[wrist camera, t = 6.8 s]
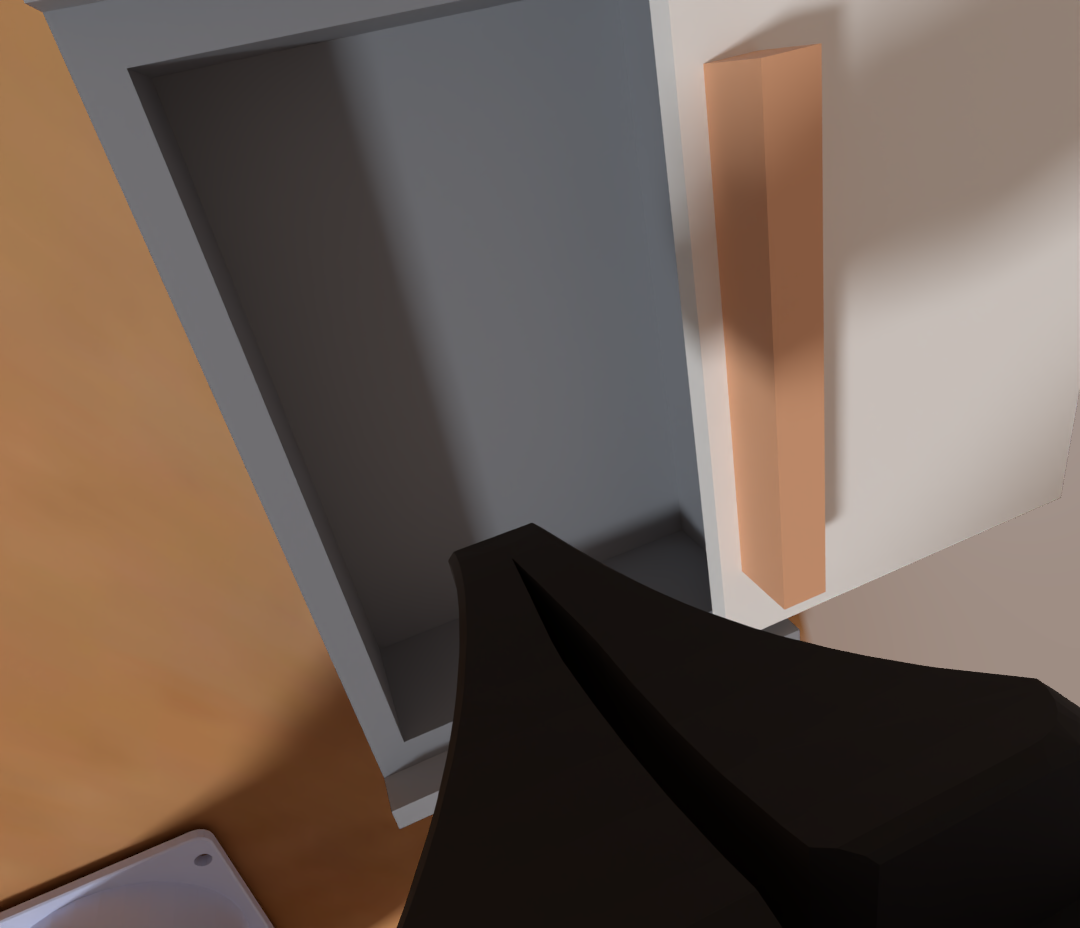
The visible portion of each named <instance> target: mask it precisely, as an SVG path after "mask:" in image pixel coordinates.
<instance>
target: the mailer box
mask: <svg viewBox="0 0 1080 928" xmlns="http://www.w3.org/2000/svg"><path fill="white" fill-rule="evenodd" d="M24 2H25V4H27V5H29V6H31V7H33V8H35V9H37V10H39V11H41V12H43V14H44V16H45V18H46V21H47V23H48V25H49V27H50V30H51V32H52V34H53V36H54V39H55V41H56V43H57V45H58V48H59V50H60V52H61V54H62V57H63V59H64V61H65V63H66V66H67V68H68V70H69V72H70V74H71V77H72V79H73V81H74V83H75V86H76V88H77V90H78V92H79V95H80V97H81V99H82V101H83V104H84V106H85V108H86V110H87V113H88V115H89V117H90V119H91V122H92V124H93V126H94V128H95V131H96V133H97V135H98V137H99V140H100V142H101V144H102V146H103V148H104V151H105V153H106V155H107V157H108V160H109V162H110V164H111V166H112V169H113V171H114V173H115V175H116V178H117V180H118V182H119V184H120V187H121V189H122V191H123V193H124V196H125V198H126V200H127V202H128V205H129V207H130V209H131V211H132V214H133V216H134V218H135V220H136V222H137V225H138V227H139V229H140V231H141V234H142V236H143V238H144V240H145V243H146V245H147V247H148V249H149V252H150V254H151V256H152V258H153V261H154V263H155V265H156V267H157V270H158V272H159V274H160V276H161V279H162V281H163V283H164V285H165V288H166V290H167V292H168V294H169V297H170V299H171V301H172V303H173V305H174V308H175V310H176V312H177V314H178V317H179V319H180V321H181V323H182V326H183V328H184V330H185V332H186V335H187V337H188V339H189V341H190V344H191V346H192V348H193V350H194V353H195V355H196V357H197V359H198V362H199V364H200V366H201V368H202V371H203V373H204V375H205V377H206V379H207V382H208V384H209V386H210V388H211V391H212V393H213V395H214V397H215V400H216V402H217V404H218V406H219V409H220V411H221V413H222V415H223V418H224V420H225V422H226V424H227V427H228V429H229V431H230V433H231V436H232V438H233V440H234V442H235V445H236V447H237V449H238V451H239V454H240V456H241V458H242V460H243V462H244V465H245V467H246V469H247V471H248V474H249V476H250V478H251V480H252V483H253V485H254V487H255V489H256V492H257V494H258V496H259V498H260V501H261V503H262V505H263V507H264V510H265V512H266V514H267V516H268V519H269V521H270V523H271V525H272V528H273V530H274V532H275V534H276V536H277V539H278V541H279V543H280V545H281V548H282V550H283V552H284V554H285V557H286V559H287V561H288V563H289V566H290V568H291V570H292V572H293V575H294V577H295V579H296V581H297V584H298V586H299V588H300V590H301V593H302V595H303V597H304V599H305V602H306V604H307V606H308V608H309V610H310V613H311V615H312V617H313V619H314V622H315V624H316V626H317V628H318V631H319V633H320V635H321V637H322V640H323V642H324V644H325V646H326V649H327V651H328V653H329V655H330V658H331V660H332V662H333V664H334V667H335V669H336V671H337V673H338V676H339V678H340V680H341V682H342V685H343V687H344V689H345V691H346V693H347V696H348V698H349V700H350V702H351V705H352V707H353V709H354V711H355V714H356V716H357V718H358V720H359V723H360V725H361V727H362V729H363V732H364V734H365V736H366V738H367V741H368V743H369V745H370V747H371V750H372V752H373V754H374V756H375V759H376V761H377V763H378V765H379V767H380V770H381V772H382V774H383V776H384V779H385V784H386V788H387V793H388V797H389V802H390V806H391V811H392V814H393V816H394V818H395V820H396V822H397V825H398V827H399V829H401V828H403V827H406V826H408V825H410V824H412V823H414V822H417V821H419V820H421V819H423V818H425V817H428V816H430V815H432V814H434V810H435V806H436V802H437V798H438V793H439V789H440V785H441V780H442V776H443V771H444V767H445V763H446V758H447V753H448V747H449V741H450V735H451V730H452V723H453V716H454V708H455V701H456V691H457V677H458V663H459V606H458V596H457V588H456V585H455V582H454V579H453V575H452V572H451V569H450V566H449V563H448V560H449V558H450V557H451V555H452V553H453V552H454V551H457V550H459V549H462V548H465V547H467V546H470V545H473V544H476V543H478V542H481V541H484V540H486V539H489V538H492V537H494V536H497V535H500V534H503V533H505V532H508V531H511V530H513V529H516V528H519V527H521V526H524V525H527V524H530V523H534V524H536V525H538V526H540V527H542V528H543V529H545V530H547V531H548V532H550V533H552V534H553V535H555V536H556V537H558V538H560V539H561V540H563V541H565V542H566V543H568V544H570V545H571V546H573V547H575V548H577V549H578V550H580V551H582V552H583V553H585V554H587V555H589V556H590V557H592V558H594V559H596V560H598V561H599V562H601V563H603V564H605V565H607V566H609V567H610V568H612V569H614V570H616V571H618V572H620V573H622V574H624V575H626V576H628V577H630V578H632V579H634V580H635V581H637V582H639V583H641V584H644V585H646V586H648V587H650V588H652V589H654V590H656V591H658V592H660V593H663V594H665V595H667V596H670V597H672V598H674V599H676V600H679V601H681V602H683V603H686V604H688V605H690V606H693V607H696V608H698V609H701V610H703V611H706V612H709V613H712V614H713V611H712V601H711V591H710V582H709V572H708V562H707V553H706V543H705V534H704V524H703V514H702V505H701V495H700V485H699V476H698V466H697V456H696V447H695V437H694V427H693V418H692V408H691V399H690V389H689V379H688V370H687V360H686V350H685V341H684V331H683V321H682V312H681V302H680V292H679V283H678V273H677V263H676V254H675V244H674V235H673V225H672V215H671V206H670V196H669V186H668V177H667V167H666V157H665V148H664V138H663V128H662V119H661V109H660V100H659V90H658V80H657V71H656V61H655V51H654V42H653V32H652V22H651V13H650V3H649V0H24ZM762 630H763V631H766V632H769V633H773V634H776V635H780V636H784V637H788V638H791V639H795V640H799V641H800V631H799V629H798V628H797V627H796V626H795V625H794V624H793V623H792V622H791V621H789V620H788V619H784V620H782V621H780V622H778V623H775V624H773V625H771V626H768V627H766V628H764V629H762Z"/></svg>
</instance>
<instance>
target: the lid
mask: <svg viewBox="0 0 1080 928" xmlns="http://www.w3.org/2000/svg"><path fill="white" fill-rule="evenodd" d="M649 3H650V13H651V22H652V32H653V42H654V51H655V61H656V71H657V80H658V90H659V100H660V109H661V119H662V128H663V138H664V148H665V157H666V167H667V177H668V186H669V196H670V206H671V215H672V225H673V235H674V244H675V254H676V263H677V273H678V283H679V292H680V302H681V312H682V321H683V331H684V341H685V350H686V360H687V370H688V379H689V389H690V399H691V408H692V418H693V427H694V437H695V447H696V456H697V466H698V476H699V485H700V495H701V505H702V514H703V524H704V534H705V543H706V553H707V562H708V572H709V582H710V591H711V601H712V611H713V614H715V615H717V616H720V617H723V618H726V619H729V620H732V621H735V622H738V623H741V624H744V625H747V626H750V627H753V628H756V629H759V630H762V629H764V628H766V627H768V626H771V625H773V624H775V623H778V622H780V621H782V620H784V619H787V618H789V617H791V616H793V615H796V614H798V613H800V612H803V611H805V610H807V609H809V608H812V607H814V606H816V605H818V604H821V603H823V602H825V601H828V600H830V599H832V598H834V597H837V596H839V595H841V594H843V593H846V592H848V591H850V590H853V589H855V588H857V587H859V586H862V585H864V584H866V583H868V582H871V581H873V580H875V579H877V578H880V577H882V576H884V575H886V574H889V573H891V572H893V571H896V570H898V569H900V568H902V567H905V566H907V565H909V564H912V563H914V562H916V561H918V560H920V559H923V558H925V557H927V556H930V555H932V554H934V553H936V552H939V551H941V550H943V549H946V548H948V547H950V546H952V545H955V544H957V543H959V542H961V541H964V540H966V539H968V538H971V537H973V536H975V535H977V534H980V533H982V532H984V531H986V530H988V529H991V528H993V527H996V526H998V525H1000V524H1002V523H1005V522H1007V521H1009V520H1011V519H1014V518H1016V517H1018V516H1021V515H1023V514H1025V513H1027V512H1030V511H1032V510H1034V509H1036V508H1038V507H1041V506H1043V505H1045V504H1048V503H1050V502H1052V501H1055V500H1057V499H1059V498H1061V494H1062V488H1063V482H1064V476H1065V471H1066V465H1067V459H1068V453H1069V448H1070V442H1071V437H1072V431H1073V425H1074V419H1075V414H1076V408H1077V402H1078V397H1079V391H1080V0H649Z"/></svg>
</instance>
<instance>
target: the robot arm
mask: <svg viewBox="0 0 1080 928" xmlns="http://www.w3.org/2000/svg"><path fill="white" fill-rule="evenodd" d="M448 563H449V566H450V569H451V572H452V575H453V579H454V582H455V585H456V588H457V596H458V606H459V663H458V677H457V691H456V701H455V708H454V716H453V723H452V730H451V735H450V741H449V747H448V753H447V758H446V763H445V767H444V771H443V776H442V780H441V785H440V789H439V793H438V798H437V802H436V806H435V810H434V814H433V818H432V821H431V825H430V828H429V832H428V835H427V838H426V842H425V845H424V848H423V851H422V854H421V857H420V860H419V863H418V867H417V870H416V873H415V876H414V879H413V882H412V885H411V888H410V892H409V895H408V898H407V901H406V904H405V907H404V909H403V912H402V915H401V918H400V920H399V923H398V926H397V928H1080V707H1078V706H1077V705H1076V704H1074V703H1073V702H1071V701H1069V700H1068V699H1067V698H1065V697H1063V696H1062V695H1061V694H1059V693H1058V692H1056V691H1055V690H1053V689H1052V688H1050V687H1049V686H1047V685H1045V684H1044V683H1042V682H1041V681H1039V680H1038V679H1034V678H1025V677H1017V676H1008V675H999V674H989V673H980V672H971V671H962V670H953V669H944V668H935V667H929V666H922V665H916V664H910V663H904V662H898V661H893V660H887V659H881V658H875V657H870V656H864V655H860V654H855V653H850V652H845V651H840V650H835V649H831V648H827V647H823V646H819V645H815V644H811V643H807V642H803V641H799V640H795V639H791V638H788V637H784V636H780V635H776V634H773V633H769V632H766V631H763V630H759V629H756V628H753V627H750V626H747V625H744V624H741V623H738V622H735V621H732V620H729V619H726V618H723V617H720V616H717V615H715V614H712V613H709V612H706V611H703V610H701V609H698V608H696V607H693V606H690V605H688V604H686V603H683V602H681V601H679V600H676V599H674V598H672V597H670V596H667V595H665V594H663V593H660V592H658V591H656V590H654V589H652V588H650V587H648V586H646V585H644V584H641V583H639V582H637V581H635V580H634V579H632V578H630V577H628V576H626V575H624V574H622V573H620V572H618V571H616V570H614V569H612V568H610V567H609V566H607V565H605V564H603V563H601V562H599V561H598V560H596V559H594V558H592V557H590V556H589V555H587V554H585V553H583V552H582V551H580V550H578V549H577V548H575V547H573V546H571V545H570V544H568V543H566V542H565V541H563V540H561V539H560V538H558V537H556V536H555V535H553V534H552V533H550V532H548V531H547V530H545V529H543V528H542V527H540V526H538V525H536V524H534V523H530V524H527V525H524V526H521V527H519V528H516V529H513V530H511V531H508V532H505V533H503V534H500V535H497V536H494V537H492V538H489V539H486V540H484V541H481V542H478V543H476V544H473V545H470V546H467V547H465V548H462V549H459V550H457V551H454V552H453V553H452V555H451V557H450V558H449V560H448ZM202 854H207V855H204V856H200V855H202ZM0 928H274V927H273V925H272V923H271V922H270V920H269V919H268V917H267V916H266V914H265V913H264V911H263V910H262V908H261V907H260V905H259V904H258V902H257V900H256V899H255V897H254V896H253V894H252V893H251V891H250V890H249V888H248V887H247V885H246V884H245V882H244V881H243V879H242V877H241V876H240V874H239V873H238V871H237V870H236V868H235V867H234V865H233V864H232V862H231V861H230V859H229V857H228V856H227V854H226V853H225V851H224V850H223V848H222V847H221V845H220V844H219V842H218V841H217V839H216V838H215V836H214V834H213V833H211V832H210V831H208V830H205V829H197V830H193V831H190V832H188V833H186V834H183V835H181V836H179V837H176V838H174V839H172V840H169V841H167V842H164V843H162V844H160V845H157V846H155V847H153V848H150V849H148V850H146V851H143V852H141V853H139V854H136V855H134V856H132V857H129V858H127V859H125V860H122V861H120V862H118V863H115V864H113V865H111V866H108V867H106V868H103V869H101V870H99V871H96V872H94V873H92V874H89V875H87V876H85V877H82V878H80V879H78V880H75V881H73V882H71V883H68V884H66V885H64V886H61V887H59V888H57V889H54V890H52V891H50V892H47V893H45V894H42V895H40V896H38V897H35V898H33V899H31V900H28V901H26V902H24V903H21V904H19V905H17V906H14V907H12V908H10V909H7V910H5V911H3V912H0Z"/></svg>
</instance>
